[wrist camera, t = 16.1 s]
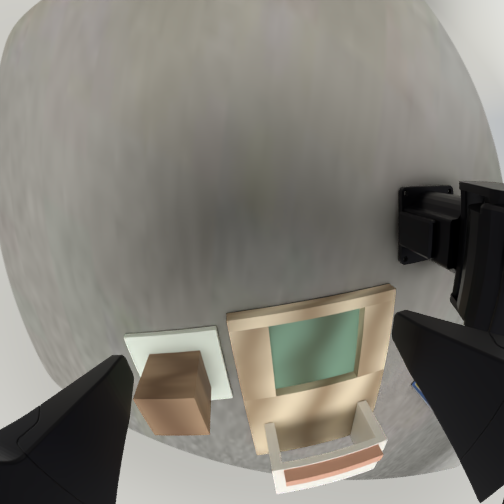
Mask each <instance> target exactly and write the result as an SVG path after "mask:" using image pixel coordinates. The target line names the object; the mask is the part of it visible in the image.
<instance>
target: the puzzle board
mask: <svg viewBox="0 0 504 504" xmlns="http://www.w3.org/2000/svg"><path fill="white" fill-rule="evenodd" d="M395 294H396V289H395V288H394V287H393V286H391V285H390V284H385V285H381V286H377V287H372V288H368V289H363V290H358V291H354V292H349V293H344V294H339V295H334V296H329V297H324V298H319V299H313V300H308V301H302V302H297V303H291V304H285V305H279V306H273V307H267V308H260V309H254V310H247V311H240V312H233V313H226V315H227V326H228V331H229V336H230V341H231V346H232V350H233V355H234V360H235V365H236V369H237V374H238V378H239V383H240V387H241V392H242V396H243V400H244V404H245V409H246V413H247V417H248V421H249V425H250V429H251V433H252V437H253V441H254V445H255V449H256V453H257V455H262V454H269V449H268V443H267V437H266V431H265V425H264V424H268V423H274V424H275V429H276V434H277V439H278V444H279V449H280V452H282V451H287V450H292V449H297V448H302V447H307V446H311V445H316V444H320V443H324V442H327V441H331V440H335V439H338V438H342V437H345V436H348V435H350V434H351V430H352V425H353V421H354V417H355V412H356V408H357V403H358V402H361V401H364V400H366V401H367V403H368V405H369V406H370V408H371V410H372V412H373V410H374V407H375V403H376V400H377V396H378V392H379V388H380V384H381V379H382V375H383V370H384V366H385V361H386V356H387V350H388V345H389V339H390V333H391V326H392V319H393V312H394V303H395Z"/></svg>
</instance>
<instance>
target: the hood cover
mask: <svg viewBox="0 0 504 504" xmlns="http://www.w3.org/2000/svg"><path fill="white" fill-rule="evenodd" d="M264 425H265V431H266V437H267V443H268V449H269V455H270V461H271V467H272V473H273V478H274V483H275V488H276V493H277V494H281V493H286V492H292V491H297V490H302V489H307V488H311V487H316V486H320V485H324V484H328V483H331V482H335V481H338V480H342V479H345V478H348V477H351V476H354V475H357V474H360V473H363V472H366V471H369V470H371V469H374V467H375V465H376V463H377V461H379V460H381V458H382V456H383V453H382V451H383V449H384V447H385V445H386V442H387V440H388V439H387V437H386V435H385V433H384V432H383V430H382V428H381V426H380V424H379V422H378V421H377V419H376V417H375V415H374V413H373V412H372V410H371V408H370V406H369V405H368V403H367V401H366V400H364V401H361V402H358V403H357V408H356V412H355V417H354V421H353V425H352V430H351V434H350V437H351V440H352V442H353V444H354V445H352V446H349V447H346V448H342V449H339V450H335V451H332V452H328V453H324V454H320V455H316V456H312V457H308V458H303V459H298V460H293V461H288V462H282V459H281V454H280V449H279V444H278V439H277V434H276V429H275V424H274V423H268V424H264Z"/></svg>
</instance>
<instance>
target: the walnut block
mask: <svg viewBox="0 0 504 504" xmlns="http://www.w3.org/2000/svg"><path fill="white" fill-rule="evenodd" d="M133 400H134V401H135V403H136V405H137V407H138V408H139V410H140V412H141V413H142V415H143V417H144V418H145V420H146V422H147V423H148V425H149V426H150V428H151V430H152V431H153V433H154V434H155V435H210V412H211V385H210V382H209V378H208V375H207V372H206V369H205V365H204V362H203V359H202V355H201V352H200V350H197V351H186V352H174V353H159V354H149V356H148V359H147V362H146V364H145V367H144V370H143V372H142V375H141V378H140V381H139V384H138V386H137V389H136V392H135V395H134V398H133Z"/></svg>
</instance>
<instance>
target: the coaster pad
mask: <svg viewBox="0 0 504 504" xmlns="http://www.w3.org/2000/svg"><path fill="white" fill-rule="evenodd" d="M124 340H125V343H126V345H127V347H128V350H129V352H130V355H131V357H132V359H133V362H134V364H135V366H136V368H137V370H138V373H139V375H140V377H141V375H142V372H143V370H144V367H145V364H146V362H147V359H148V356H149V354H159V353H174V352H186V351H197V350H200V352H201V355H202V359H203V362H204V365H205V369H206V372H207V375H208V378H209V382H210V385H211V400H217V399H228V398H233V393H232V390H231V386H230V382H229V378H228V374H227V370H226V366H225V362H224V358H223V353H222V349H221V345H220V341H219V336H218V332H217V327H216V326H210V327H201V328H192V329H182V330H172V331H160V332H148V333H133V334H125V336H124Z"/></svg>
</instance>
